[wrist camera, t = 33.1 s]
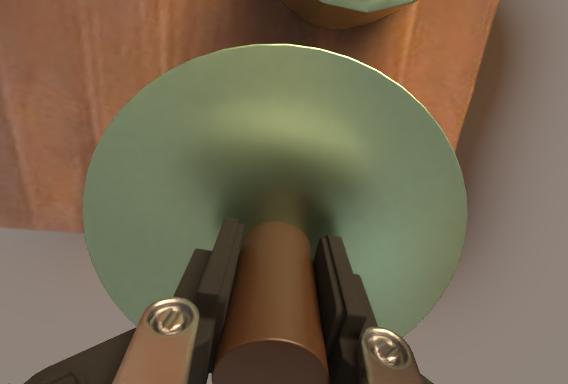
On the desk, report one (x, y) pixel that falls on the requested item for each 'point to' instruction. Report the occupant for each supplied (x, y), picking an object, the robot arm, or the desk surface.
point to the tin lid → (276, 198)
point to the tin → (344, 11)
